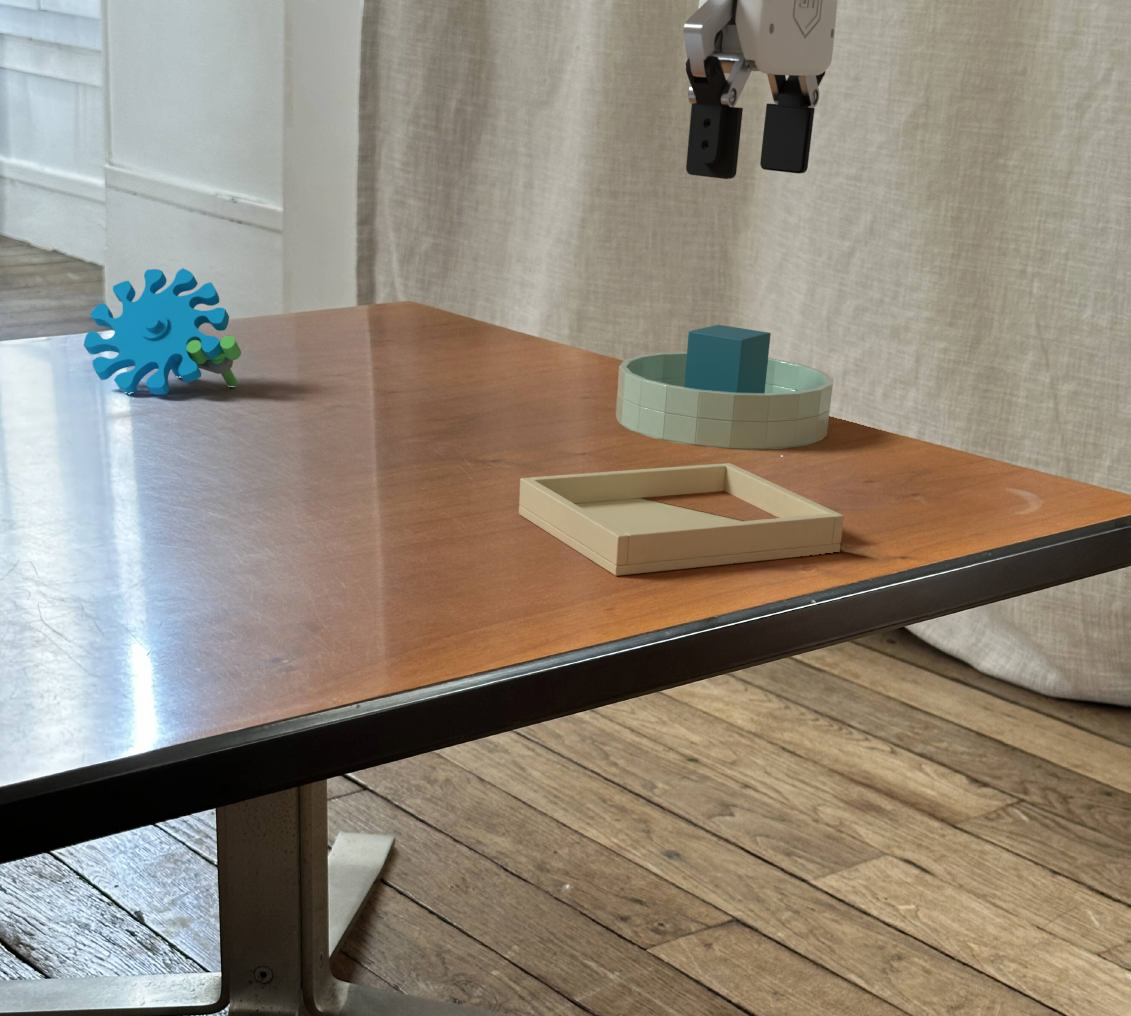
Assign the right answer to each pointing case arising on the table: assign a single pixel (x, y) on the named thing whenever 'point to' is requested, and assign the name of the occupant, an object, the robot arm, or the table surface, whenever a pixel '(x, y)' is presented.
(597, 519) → the tray
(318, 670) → the table surface
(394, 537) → the table surface
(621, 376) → the bowl
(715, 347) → the block
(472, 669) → the table surface
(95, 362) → the gear
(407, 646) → the table surface
